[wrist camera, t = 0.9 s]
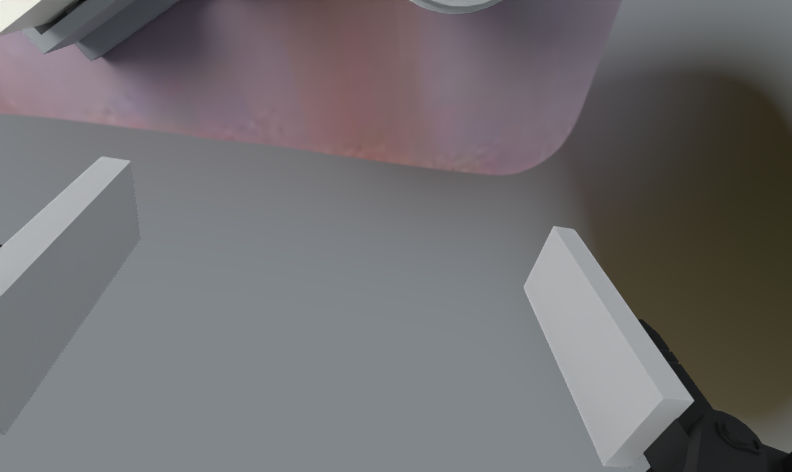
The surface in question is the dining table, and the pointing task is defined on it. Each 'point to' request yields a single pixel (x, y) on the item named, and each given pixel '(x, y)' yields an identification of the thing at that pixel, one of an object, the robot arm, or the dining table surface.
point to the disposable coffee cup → (455, 5)
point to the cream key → (29, 13)
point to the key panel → (96, 25)
